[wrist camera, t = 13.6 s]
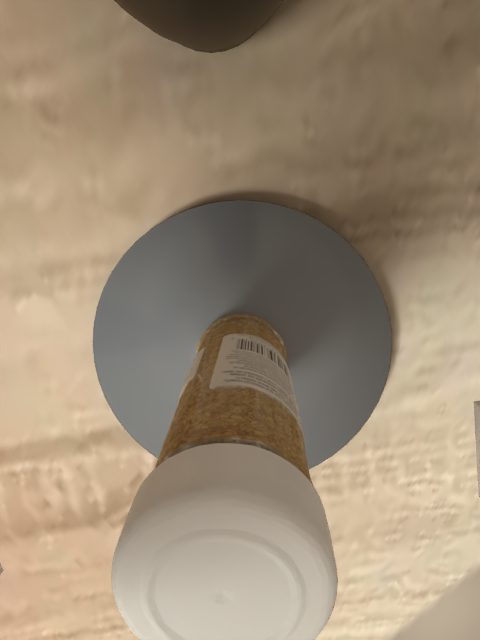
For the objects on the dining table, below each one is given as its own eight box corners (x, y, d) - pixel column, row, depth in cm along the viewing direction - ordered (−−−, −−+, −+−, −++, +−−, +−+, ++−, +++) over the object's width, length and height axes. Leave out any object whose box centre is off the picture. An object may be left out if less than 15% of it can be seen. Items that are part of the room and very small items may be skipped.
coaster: (140, 490, 24) (135, 502, 23) (63, 233, 21) (54, 235, 20) (398, 450, 23) (405, 460, 22) (367, 171, 20) (374, 169, 19)
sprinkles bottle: (178, 349, 21) (54, 583, 8) (248, 292, 20) (235, 452, 7) (237, 413, 22) (211, 719, 9) (306, 361, 21) (391, 616, 8)
